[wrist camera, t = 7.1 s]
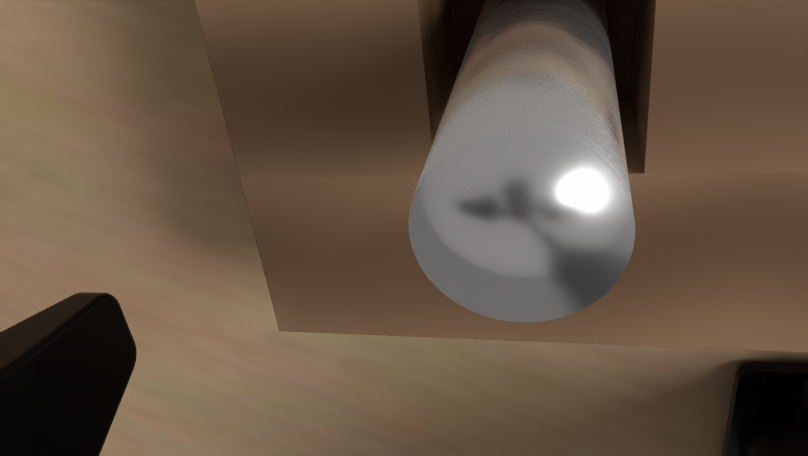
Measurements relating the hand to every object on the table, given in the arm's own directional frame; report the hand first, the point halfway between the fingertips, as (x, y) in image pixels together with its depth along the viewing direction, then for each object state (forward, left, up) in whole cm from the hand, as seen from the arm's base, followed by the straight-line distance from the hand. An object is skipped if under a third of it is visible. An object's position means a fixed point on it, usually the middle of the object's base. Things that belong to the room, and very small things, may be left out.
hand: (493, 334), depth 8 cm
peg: (0, 0, -12) cm, 12 cm away
